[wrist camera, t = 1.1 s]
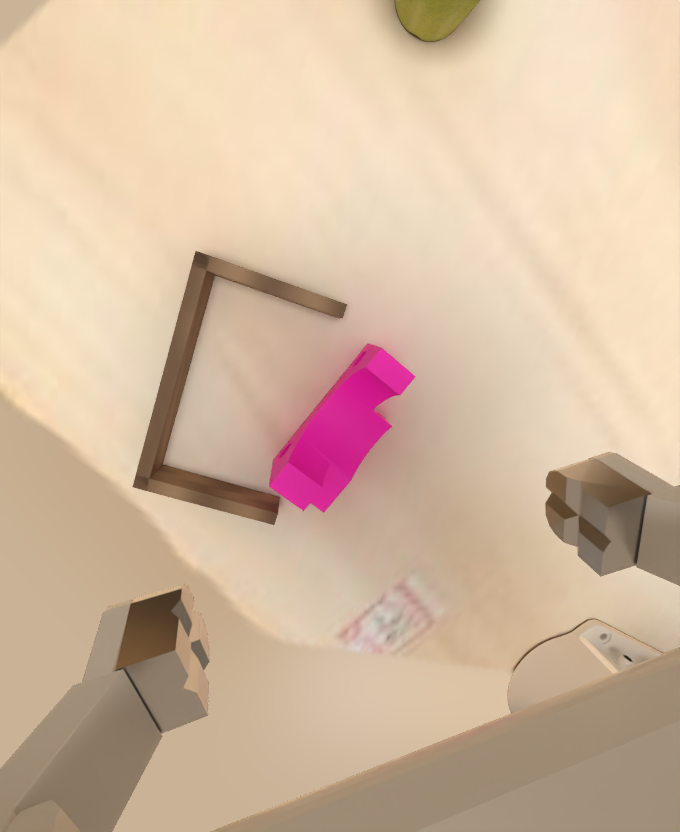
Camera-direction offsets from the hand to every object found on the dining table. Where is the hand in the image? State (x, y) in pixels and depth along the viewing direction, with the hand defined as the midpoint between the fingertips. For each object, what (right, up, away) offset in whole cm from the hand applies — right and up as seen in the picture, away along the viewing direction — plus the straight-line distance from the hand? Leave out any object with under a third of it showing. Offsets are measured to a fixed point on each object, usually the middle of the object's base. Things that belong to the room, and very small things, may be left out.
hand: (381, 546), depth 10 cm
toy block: (-1, +2, +36) cm, 36 cm away
